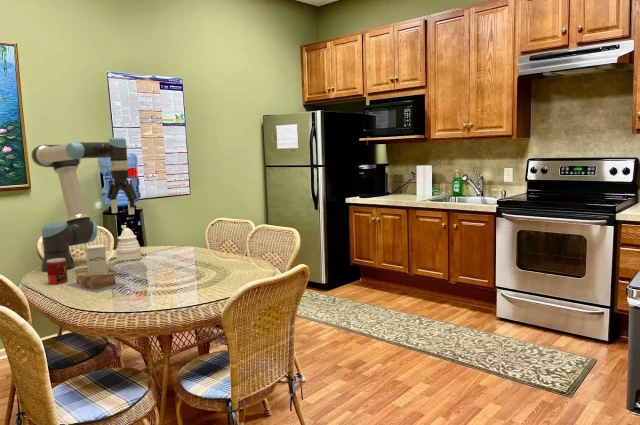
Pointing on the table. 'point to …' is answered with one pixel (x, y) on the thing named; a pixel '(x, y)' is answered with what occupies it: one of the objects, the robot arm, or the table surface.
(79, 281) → the maple cube
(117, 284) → the slate mat
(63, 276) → the canned food
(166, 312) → the table surface
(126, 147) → the robot arm
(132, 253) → the honey pot
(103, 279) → the walnut block
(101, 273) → the supplement box
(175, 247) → the table surface
